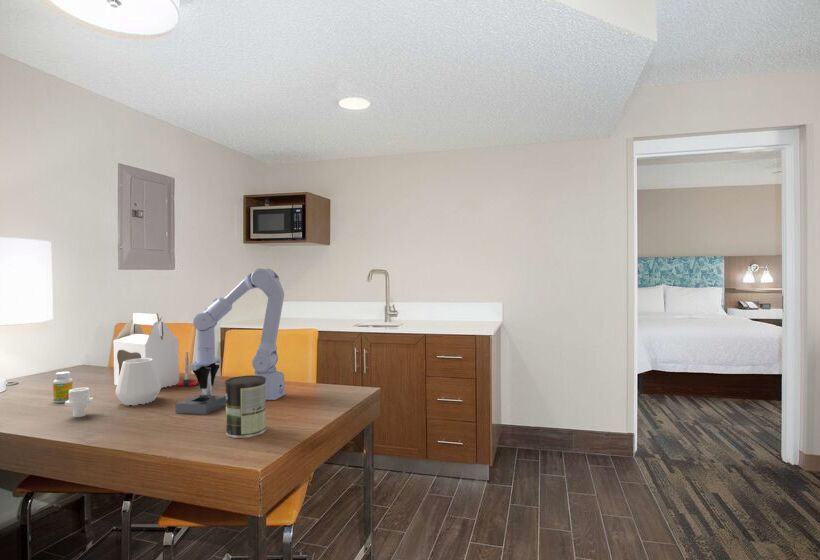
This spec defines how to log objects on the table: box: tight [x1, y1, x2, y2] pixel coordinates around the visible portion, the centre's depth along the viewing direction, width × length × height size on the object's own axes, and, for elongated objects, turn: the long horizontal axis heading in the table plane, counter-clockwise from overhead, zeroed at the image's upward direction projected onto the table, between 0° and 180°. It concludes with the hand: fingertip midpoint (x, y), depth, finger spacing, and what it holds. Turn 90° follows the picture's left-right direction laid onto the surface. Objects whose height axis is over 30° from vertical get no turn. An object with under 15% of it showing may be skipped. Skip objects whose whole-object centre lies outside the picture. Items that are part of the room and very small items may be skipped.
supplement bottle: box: [52, 371, 74, 404], centre depth 163 cm, size 5×5×10 cm
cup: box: [115, 358, 162, 406], centre depth 161 cm, size 13×13×14 cm
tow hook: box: [176, 352, 199, 387], centre depth 188 cm, size 8×13×9 cm
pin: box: [201, 367, 213, 396], centre depth 165 cm, size 3×3×10 cm
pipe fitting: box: [64, 387, 94, 418], centre depth 145 cm, size 6×7×8 cm
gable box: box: [112, 312, 180, 389], centre depth 187 cm, size 22×13×28 cm, turn 59°
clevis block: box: [174, 394, 226, 415], centre depth 151 cm, size 10×10×3 cm
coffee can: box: [224, 374, 267, 439], centre depth 128 cm, size 10×10×14 cm
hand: (206, 387), depth 165 cm, fingers closed on pin, 3 cm apart
